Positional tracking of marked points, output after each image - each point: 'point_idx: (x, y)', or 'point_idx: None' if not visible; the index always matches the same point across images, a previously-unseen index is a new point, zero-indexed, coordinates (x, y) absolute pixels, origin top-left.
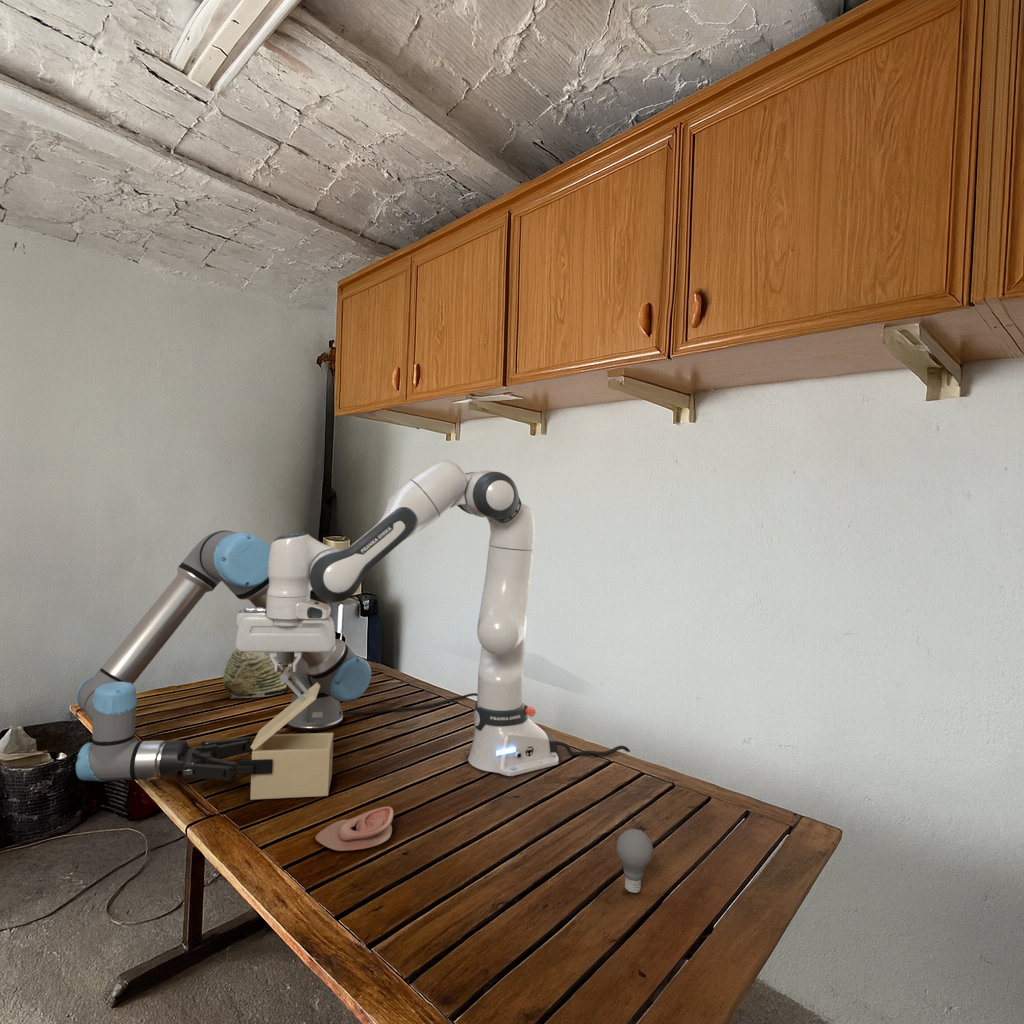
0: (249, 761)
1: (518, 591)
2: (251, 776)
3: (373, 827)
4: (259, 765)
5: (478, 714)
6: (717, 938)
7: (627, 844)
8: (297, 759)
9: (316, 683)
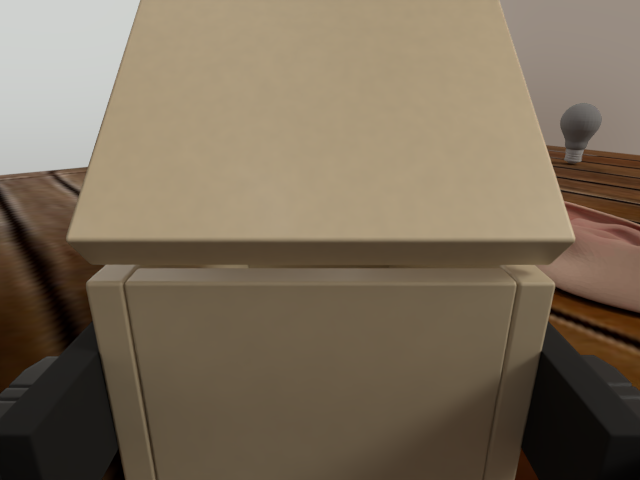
0: (583, 359)
1: None
2: (513, 470)
3: (620, 225)
4: None
5: None
6: (611, 156)
7: (598, 112)
8: None
9: None
